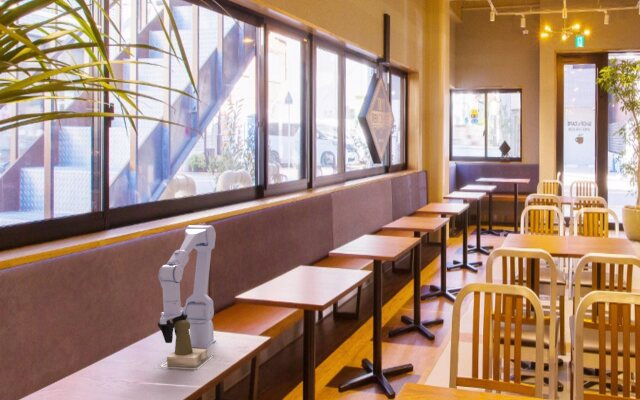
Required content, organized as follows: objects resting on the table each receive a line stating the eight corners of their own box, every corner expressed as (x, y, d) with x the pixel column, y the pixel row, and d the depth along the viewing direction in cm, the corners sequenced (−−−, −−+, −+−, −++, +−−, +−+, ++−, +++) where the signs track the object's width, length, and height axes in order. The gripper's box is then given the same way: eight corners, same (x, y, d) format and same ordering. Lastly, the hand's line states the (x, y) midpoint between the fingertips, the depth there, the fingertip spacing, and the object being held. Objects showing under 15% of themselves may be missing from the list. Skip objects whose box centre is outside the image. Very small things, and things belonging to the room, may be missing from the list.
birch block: (180, 356, 233) (180, 347, 233) (207, 357, 231) (206, 349, 231) (167, 365, 224) (166, 356, 224) (194, 367, 221) (194, 358, 221)
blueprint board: (176, 353, 237) (176, 352, 237) (215, 356, 233) (215, 354, 233) (154, 369, 222) (154, 367, 222) (195, 372, 218) (195, 370, 218)
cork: (189, 355, 224) (187, 323, 223) (172, 355, 225) (170, 323, 224) (195, 349, 230) (193, 318, 229) (178, 349, 231) (176, 318, 230)
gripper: (170, 294, 235) (172, 332, 236) (150, 305, 221) (152, 345, 222) (189, 295, 233) (191, 333, 234) (170, 305, 219) (172, 346, 220)
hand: (173, 339), depth 228 cm, fingers open, 7 cm apart
